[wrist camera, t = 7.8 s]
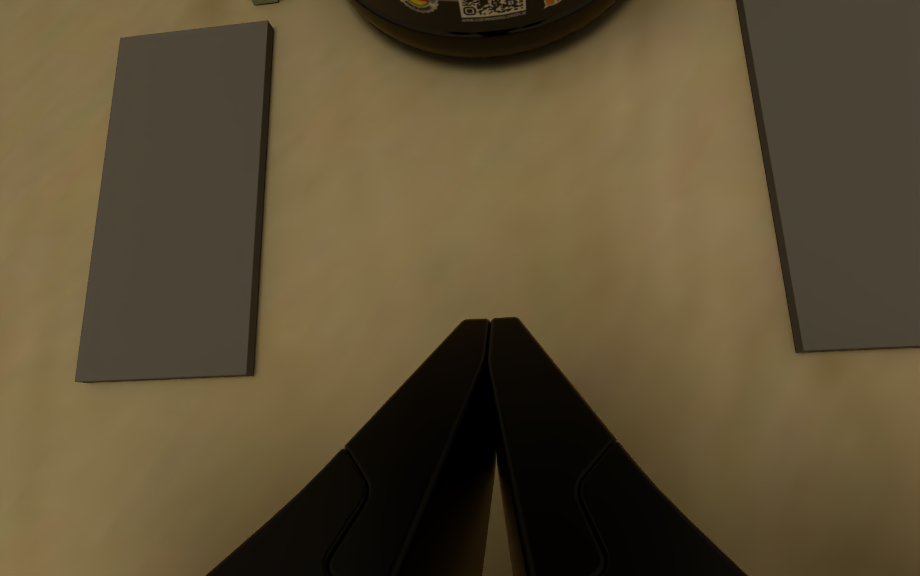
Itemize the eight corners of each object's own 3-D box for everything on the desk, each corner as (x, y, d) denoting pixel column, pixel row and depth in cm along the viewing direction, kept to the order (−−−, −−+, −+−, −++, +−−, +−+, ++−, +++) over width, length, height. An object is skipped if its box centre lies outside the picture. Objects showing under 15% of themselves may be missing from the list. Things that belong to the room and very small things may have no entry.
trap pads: (1022, 343, 14) (1036, 340, 13) (85, 382, 16) (74, 381, 16) (918, -47, 16) (927, -58, 16) (128, 45, 19) (120, 37, 19)
